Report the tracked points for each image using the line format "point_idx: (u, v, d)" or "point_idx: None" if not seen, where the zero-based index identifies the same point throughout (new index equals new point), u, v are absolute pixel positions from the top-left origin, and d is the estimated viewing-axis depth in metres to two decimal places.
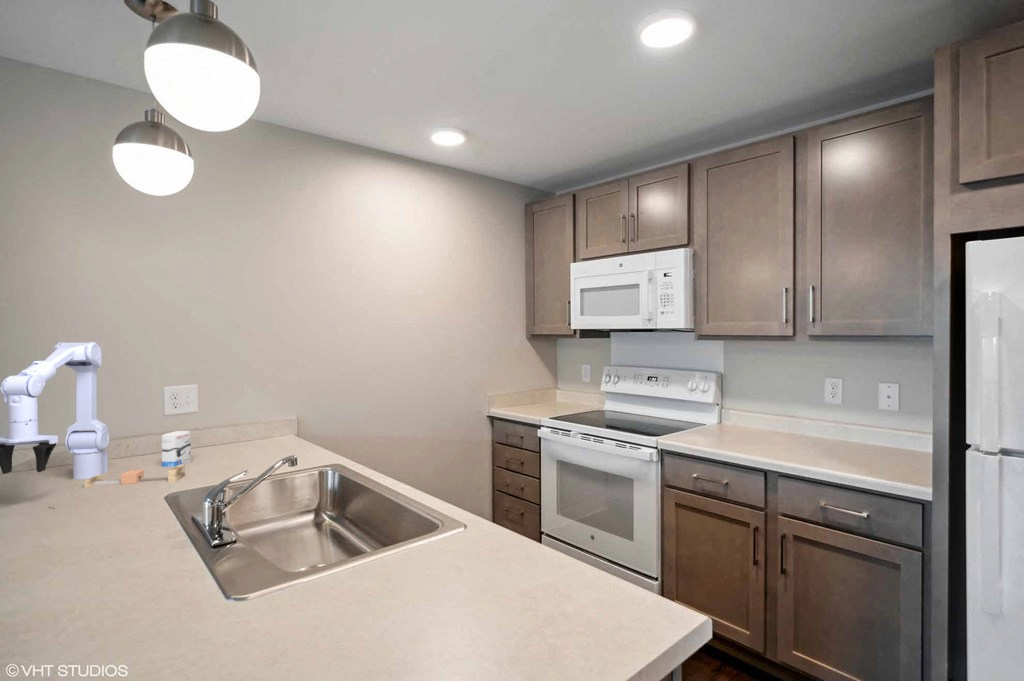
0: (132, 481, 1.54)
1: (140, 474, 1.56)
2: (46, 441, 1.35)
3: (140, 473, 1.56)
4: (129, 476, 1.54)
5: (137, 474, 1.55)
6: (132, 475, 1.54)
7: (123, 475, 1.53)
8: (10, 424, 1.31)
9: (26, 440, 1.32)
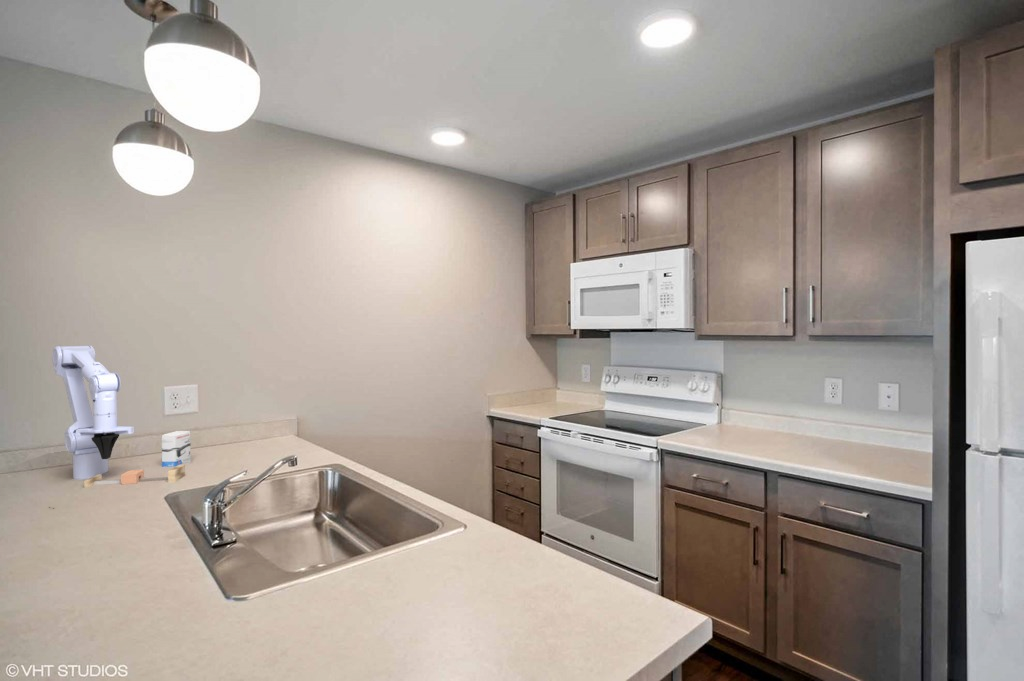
0: (132, 481, 1.54)
1: (140, 474, 1.56)
2: (125, 431, 1.55)
3: (140, 473, 1.56)
4: (129, 476, 1.54)
5: (137, 474, 1.55)
6: (132, 475, 1.54)
7: (123, 475, 1.53)
8: (95, 416, 1.51)
9: (109, 430, 1.52)
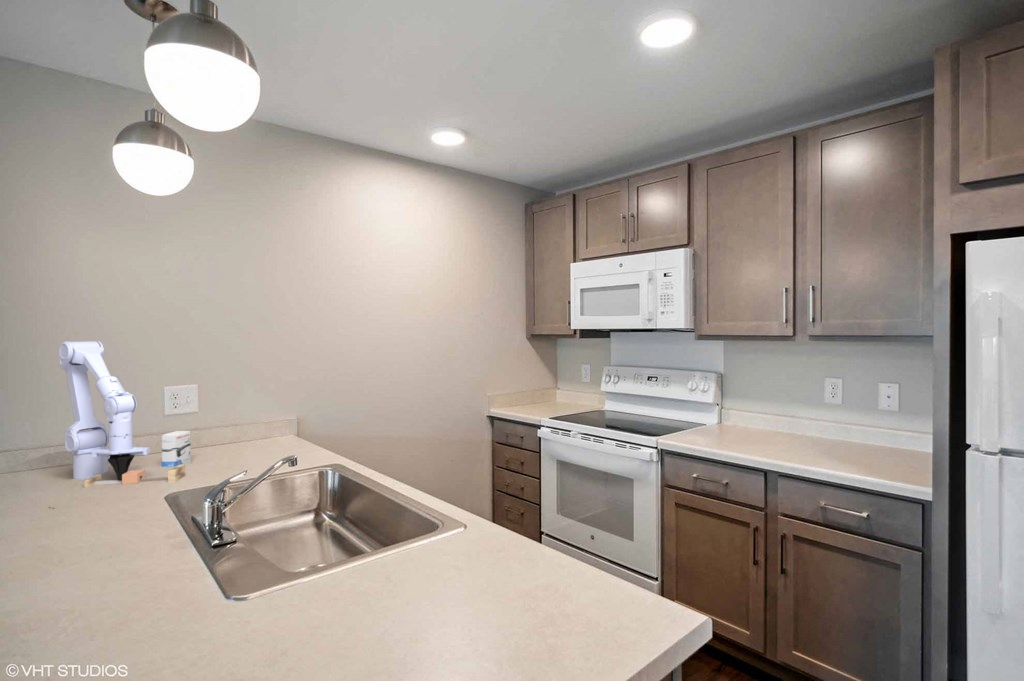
0: (133, 481, 1.54)
1: (141, 474, 1.56)
2: (140, 452, 1.56)
3: (141, 473, 1.57)
4: (130, 476, 1.54)
5: (138, 474, 1.55)
6: (133, 475, 1.54)
7: (124, 475, 1.53)
8: (111, 438, 1.52)
9: (125, 452, 1.53)
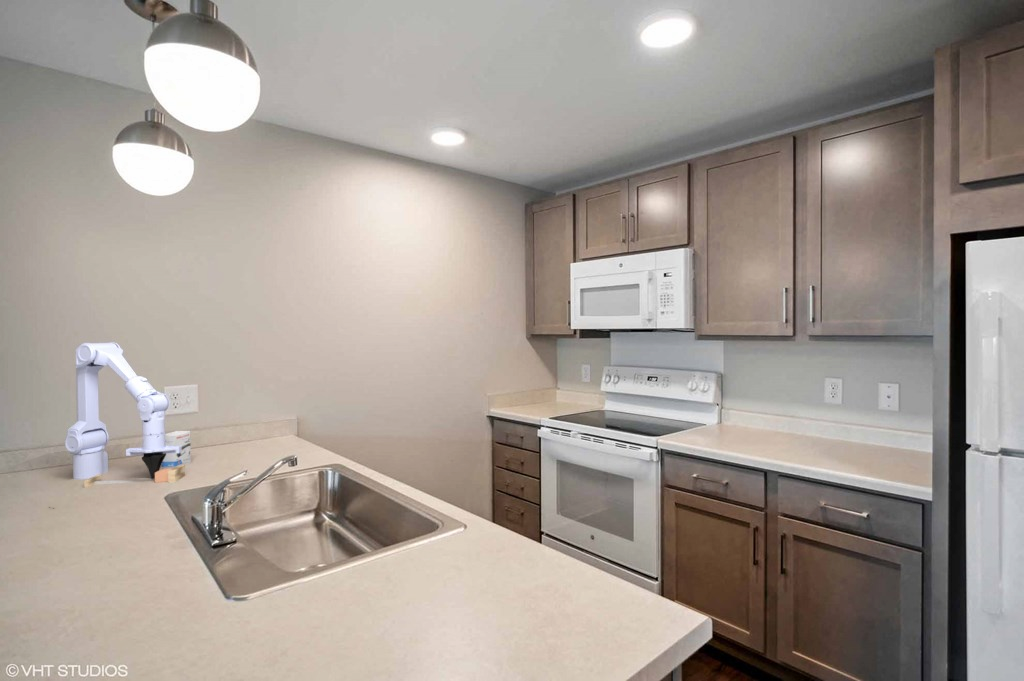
0: (166, 479, 1.56)
1: None
2: (173, 451, 1.58)
3: None
4: (163, 474, 1.55)
5: None
6: (165, 473, 1.56)
7: (157, 473, 1.55)
8: (145, 437, 1.54)
9: (158, 450, 1.55)
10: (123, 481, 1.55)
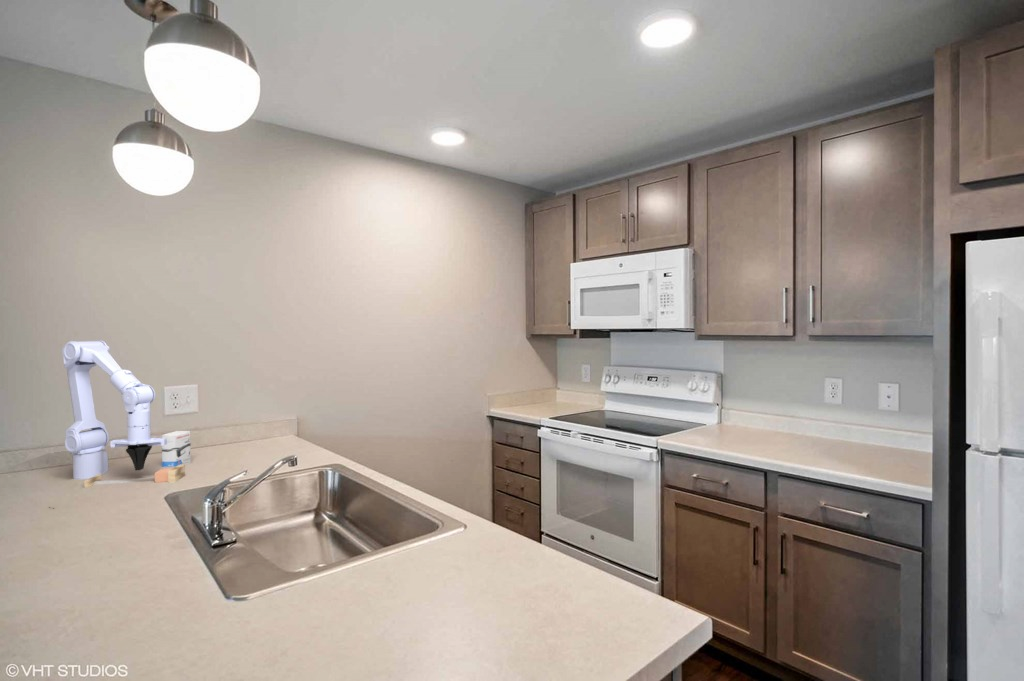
0: (166, 479, 1.56)
1: None
2: (158, 443, 1.57)
3: None
4: (163, 474, 1.55)
5: None
6: (165, 473, 1.56)
7: (157, 473, 1.55)
8: (130, 428, 1.53)
9: (143, 442, 1.54)
10: (123, 481, 1.55)
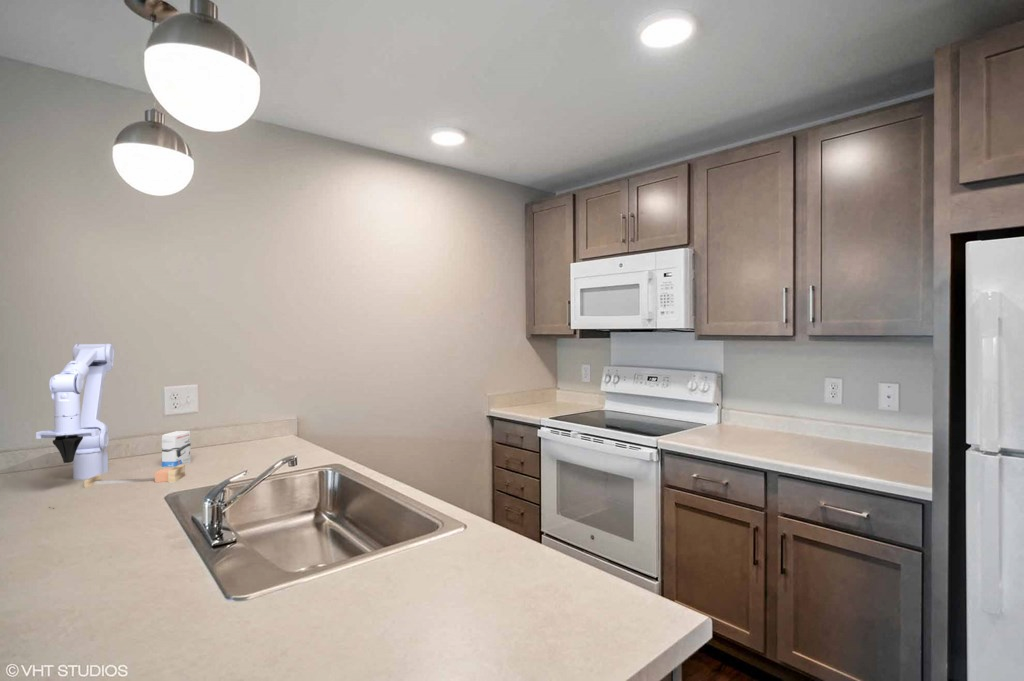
0: (166, 479, 1.56)
1: None
2: (88, 434, 1.48)
3: None
4: (163, 474, 1.55)
5: None
6: (165, 473, 1.56)
7: (157, 473, 1.55)
8: (57, 418, 1.44)
9: (71, 433, 1.45)
10: (123, 481, 1.55)
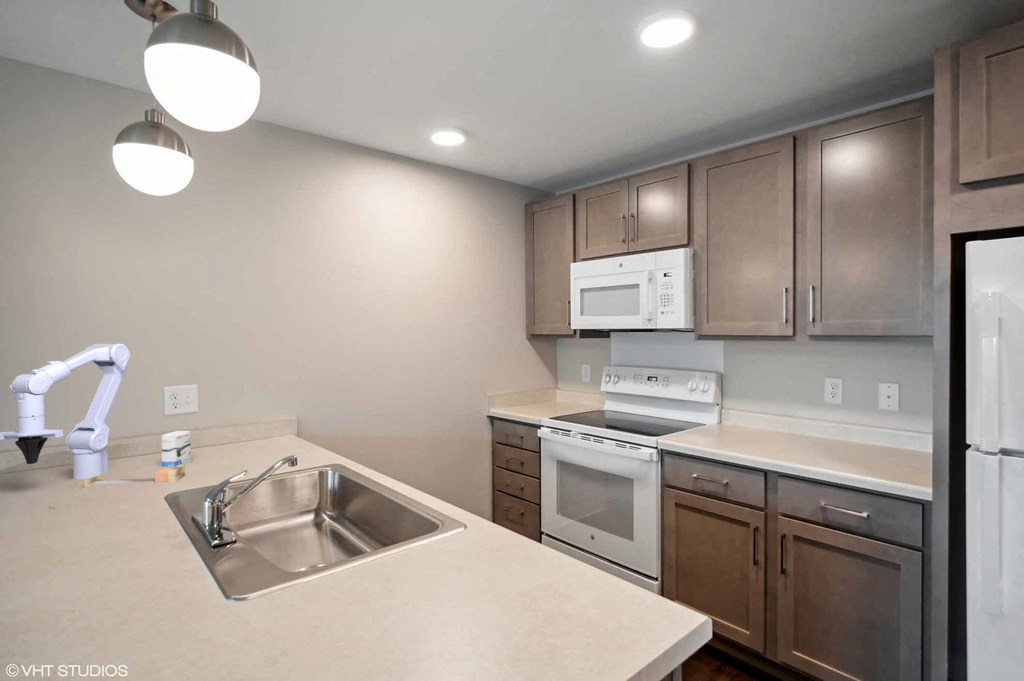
0: (166, 479, 1.56)
1: None
2: (52, 435, 1.46)
3: None
4: (163, 474, 1.55)
5: None
6: (165, 473, 1.56)
7: (157, 473, 1.55)
8: (19, 419, 1.43)
9: (34, 434, 1.44)
10: (123, 481, 1.55)
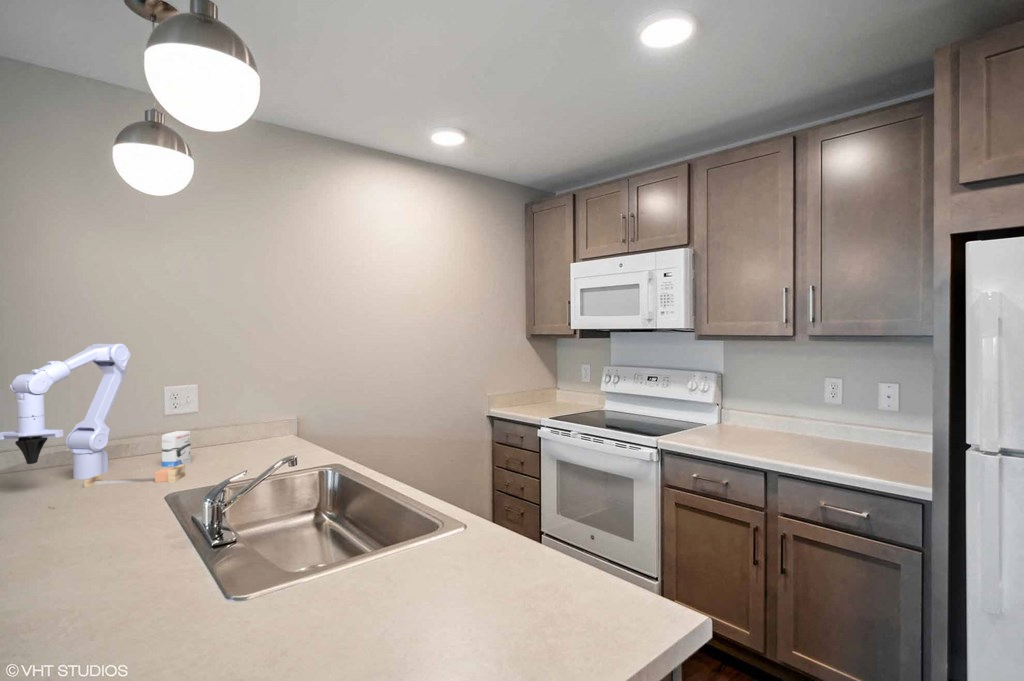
0: (166, 479, 1.56)
1: None
2: (52, 435, 1.46)
3: None
4: (163, 474, 1.55)
5: None
6: (165, 473, 1.56)
7: (157, 473, 1.55)
8: (19, 419, 1.43)
9: (34, 434, 1.44)
10: (123, 481, 1.55)
